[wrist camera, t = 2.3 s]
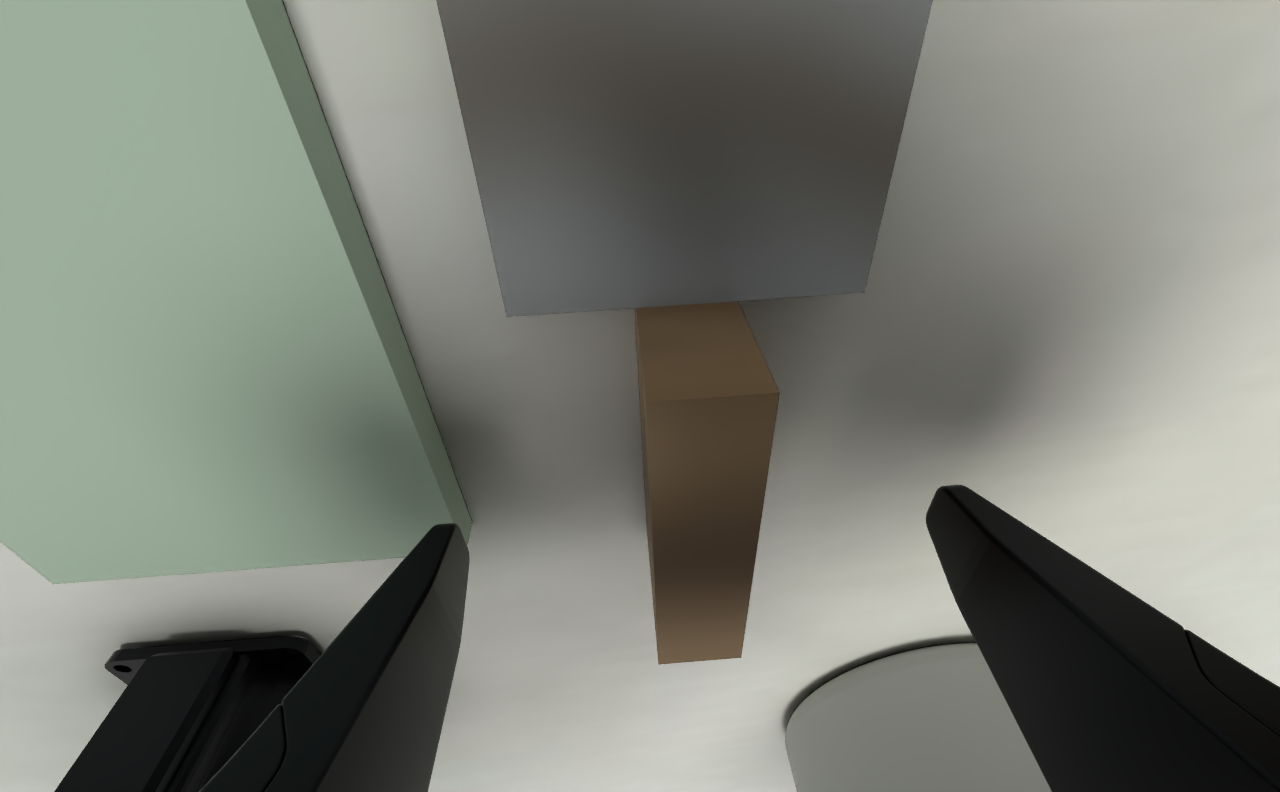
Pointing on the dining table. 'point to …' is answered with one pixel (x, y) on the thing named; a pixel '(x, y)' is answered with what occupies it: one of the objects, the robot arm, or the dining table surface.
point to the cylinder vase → (912, 729)
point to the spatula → (686, 222)
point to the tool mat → (193, 307)
